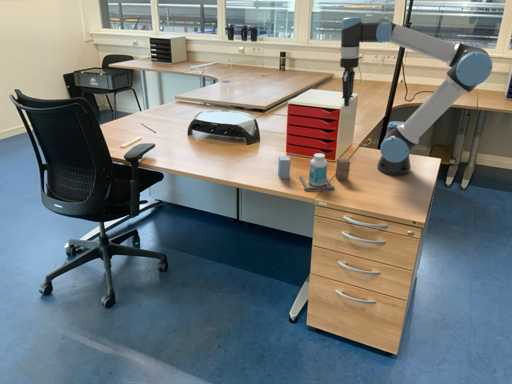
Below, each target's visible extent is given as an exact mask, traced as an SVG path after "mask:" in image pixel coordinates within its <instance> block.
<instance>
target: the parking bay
mask: <svg viewBox="0 0 512 384" xmlns="http://www.w3.org/2000/svg"><path fill="white" fill-rule="evenodd" d="M299 179H300V181H301V183H303V184H302V185H303V186H302V187H303V188H304V189H303V190H304V191H305V192H306V191H307V192H308V191H309V190H310V192H311V190H312V191H333V190H334V191H335V188H336V187H335V186H333V184H332V182H331V181H330V179H329V178H328V176H327V175H326V185H327V186H325V185H324V186H319V187H317V186H308V184H307V183H306V181H305V179H304V177H303V175H299Z"/></svg>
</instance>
